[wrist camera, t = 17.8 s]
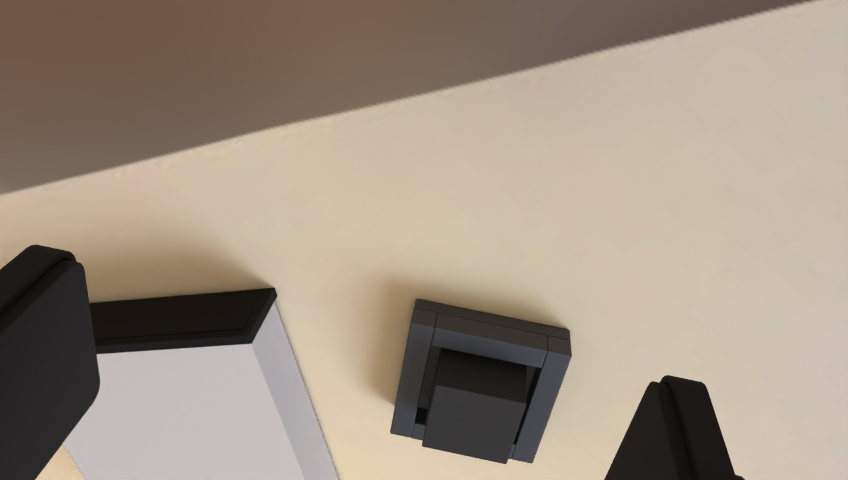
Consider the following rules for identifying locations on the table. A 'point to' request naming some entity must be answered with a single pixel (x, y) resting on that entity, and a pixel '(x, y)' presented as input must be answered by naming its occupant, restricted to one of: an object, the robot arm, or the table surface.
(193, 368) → the disc drive
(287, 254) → the table surface
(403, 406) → the base pad
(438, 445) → the black block
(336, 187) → the table surface
